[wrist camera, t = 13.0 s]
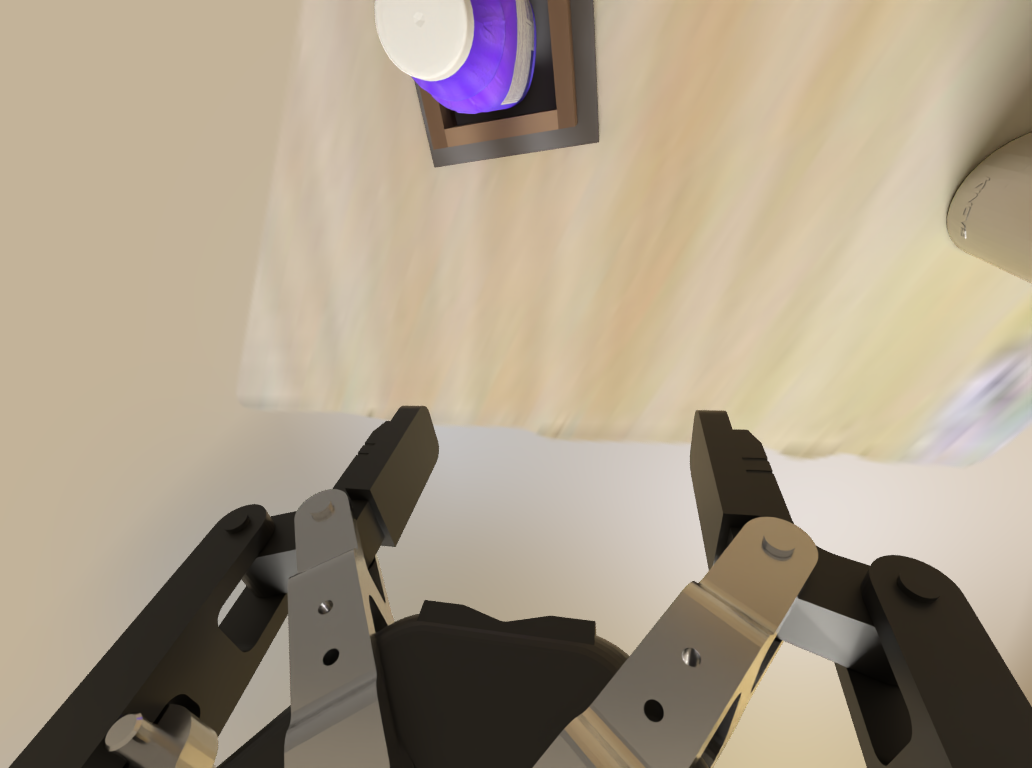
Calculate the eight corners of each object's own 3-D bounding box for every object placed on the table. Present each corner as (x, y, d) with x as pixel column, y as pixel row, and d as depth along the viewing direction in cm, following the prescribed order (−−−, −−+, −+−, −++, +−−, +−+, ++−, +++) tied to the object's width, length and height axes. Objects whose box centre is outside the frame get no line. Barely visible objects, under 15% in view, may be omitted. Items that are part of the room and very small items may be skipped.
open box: (588, -108, 28) (586, -138, 24) (599, 140, 35) (598, 147, 31) (390, -51, 31) (359, -70, 27) (438, 165, 38) (420, 174, 35)
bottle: (462, -18, 30) (337, -106, 16) (543, -15, 30) (485, -104, 16) (464, 105, 34) (366, 121, 20) (535, 110, 34) (484, 129, 20)
